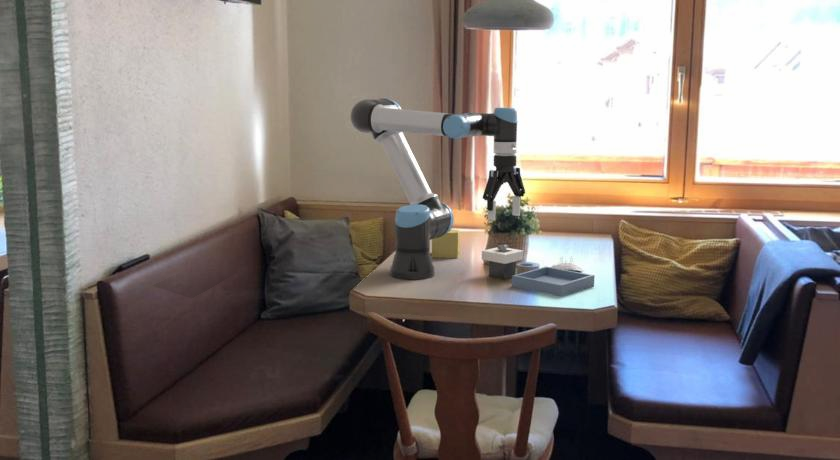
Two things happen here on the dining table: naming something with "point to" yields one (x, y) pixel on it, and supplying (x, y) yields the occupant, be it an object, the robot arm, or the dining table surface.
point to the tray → (553, 281)
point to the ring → (502, 255)
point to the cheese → (446, 245)
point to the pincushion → (567, 265)
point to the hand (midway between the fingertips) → (504, 217)
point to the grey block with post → (502, 267)
